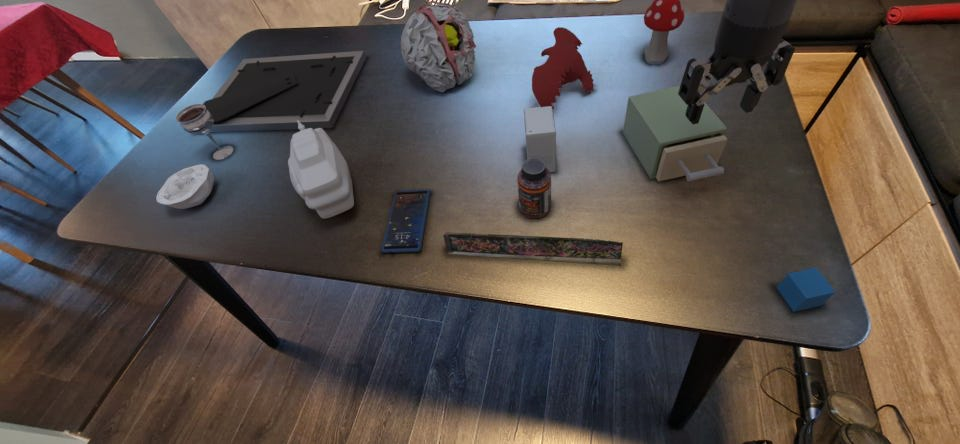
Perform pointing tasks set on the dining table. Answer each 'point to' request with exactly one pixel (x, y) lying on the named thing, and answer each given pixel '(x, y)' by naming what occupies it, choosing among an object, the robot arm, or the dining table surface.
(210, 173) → the cell model
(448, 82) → the decorative sculpture
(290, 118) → the picture frame
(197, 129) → the wineglass
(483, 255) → the incense holder
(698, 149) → the beige drawer
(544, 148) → the small box
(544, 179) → the supplement bottle
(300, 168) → the white tiered sculpture
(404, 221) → the smartphone
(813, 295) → the matte blue cube
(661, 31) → the decorative mushroom
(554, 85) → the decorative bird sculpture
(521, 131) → the dining table surface
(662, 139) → the drawer cabinet
